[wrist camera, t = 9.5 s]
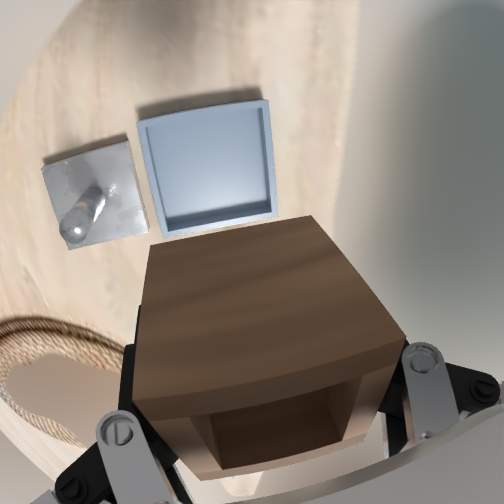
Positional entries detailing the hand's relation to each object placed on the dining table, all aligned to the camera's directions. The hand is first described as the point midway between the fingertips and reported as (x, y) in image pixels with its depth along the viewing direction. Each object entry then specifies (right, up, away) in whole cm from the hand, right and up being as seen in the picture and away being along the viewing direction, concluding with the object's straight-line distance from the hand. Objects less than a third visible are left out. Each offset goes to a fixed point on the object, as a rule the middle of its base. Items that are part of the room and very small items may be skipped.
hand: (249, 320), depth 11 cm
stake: (-15, +8, +17) cm, 24 cm away
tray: (-4, +10, +18) cm, 21 cm away
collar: (0, +1, +1) cm, 1 cm away
